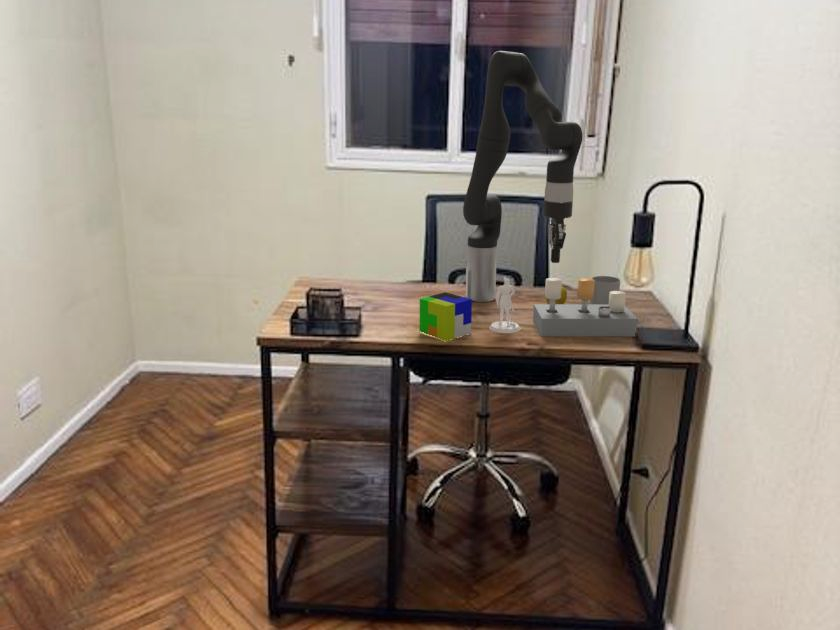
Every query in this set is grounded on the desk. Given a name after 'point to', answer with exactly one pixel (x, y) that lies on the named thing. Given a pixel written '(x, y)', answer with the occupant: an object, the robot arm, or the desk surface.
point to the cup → (604, 289)
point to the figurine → (507, 303)
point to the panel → (582, 321)
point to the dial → (604, 311)
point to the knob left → (553, 291)
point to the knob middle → (585, 291)
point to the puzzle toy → (445, 316)
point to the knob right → (617, 301)
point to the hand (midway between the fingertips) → (555, 262)
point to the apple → (562, 299)
